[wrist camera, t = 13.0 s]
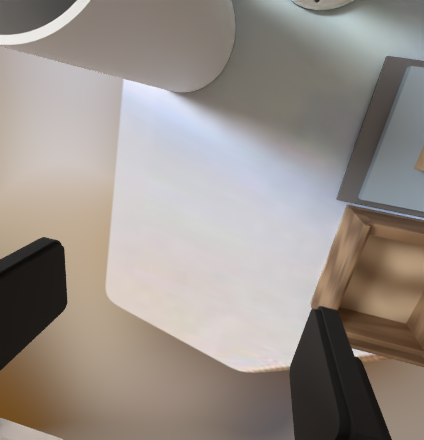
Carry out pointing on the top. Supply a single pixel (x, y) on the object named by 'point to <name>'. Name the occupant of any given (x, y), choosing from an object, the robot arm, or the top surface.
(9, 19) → the cylinder vase
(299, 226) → the top surface
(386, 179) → the lid
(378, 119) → the mat
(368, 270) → the walnut box
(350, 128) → the top surface
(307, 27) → the top surface
